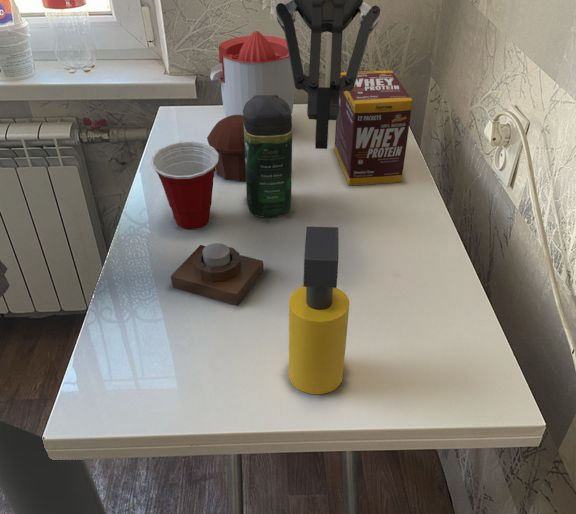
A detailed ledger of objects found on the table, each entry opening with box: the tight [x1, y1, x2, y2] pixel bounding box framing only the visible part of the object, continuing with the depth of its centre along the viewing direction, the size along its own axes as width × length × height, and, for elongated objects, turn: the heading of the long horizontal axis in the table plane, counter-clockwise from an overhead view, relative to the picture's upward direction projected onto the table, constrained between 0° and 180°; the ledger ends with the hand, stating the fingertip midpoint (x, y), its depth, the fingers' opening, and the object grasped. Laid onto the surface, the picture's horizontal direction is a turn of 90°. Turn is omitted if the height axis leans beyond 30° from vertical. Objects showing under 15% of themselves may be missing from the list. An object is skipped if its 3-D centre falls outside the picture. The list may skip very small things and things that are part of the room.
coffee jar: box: [243, 95, 293, 219], centre depth 104 cm, size 10×8×19 cm
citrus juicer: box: [209, 30, 296, 117], centre depth 126 cm, size 16×17×20 cm
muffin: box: [206, 115, 246, 182], centre depth 117 cm, size 12×11×10 cm
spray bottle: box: [288, 225, 350, 395], centre depth 73 cm, size 8×7×20 cm
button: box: [203, 242, 230, 267], centre depth 91 cm, size 4×4×2 cm
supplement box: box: [333, 70, 414, 186], centre depth 116 cm, size 10×15×16 cm
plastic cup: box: [150, 140, 218, 230], centre depth 102 cm, size 11×11×12 cm
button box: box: [170, 244, 265, 307], centre depth 93 cm, size 11×9×4 cm
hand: (321, 144), depth 76 cm, fingers closed
